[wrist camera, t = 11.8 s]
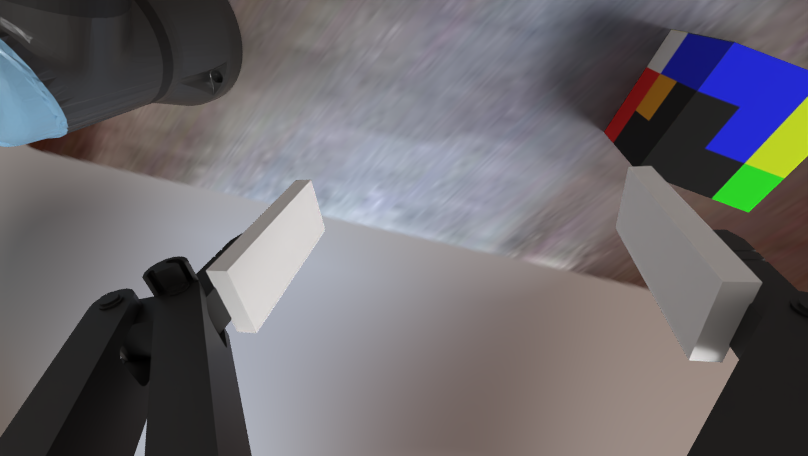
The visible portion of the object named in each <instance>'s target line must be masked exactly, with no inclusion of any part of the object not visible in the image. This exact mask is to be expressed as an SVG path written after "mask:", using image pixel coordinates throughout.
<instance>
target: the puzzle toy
mask: <svg viewBox="0 0 808 456" xmlns="http://www.w3.org/2000/svg"><path fill="white" fill-rule="evenodd" d="M604 133H605V134H606V135H607V136H608V137H609V139H610V140H611V141H612V142H613V143H614V145H615V146H616V147H617V148H618V149H619V150H620V152H621V153H622V154H623V155H624V156H625V158H626V159H627V160H628V161H629V162H630V163H631V165H632V166H633V167H638V166H652V167H653V168H654V169H655V170H656V172H657V173H658V174H659V175H660V176H661V177H662V178H663V179H664V180H665V181H666V182H668V183H671V184H674V185H676V186H679V187H682V188H684V189H687V190H690V191H692V192H695V193H698V194H701V195H703V196H706V197H709V198H711V199H714V200H717V201H719V202H722V203H725V204H727V205H730V206H733V207H735V208H738V209H741V210H743V211H746V212H750V211H751V210H752V209H753V208H754V207H755V206H756V205H757V204H758V203H759V202H760V201H761V200H762V199H763V198H764V197H765V196H766V195H767V194H768V193H769V192H770V191H772V190H773V189H774V188H775V187H776V186H777V185H778V184H779V183H780V182H781V181H782V180H783V179H784V178H785V177H786V176H787V175H788V174H789V173H790V172H791V171H792V170H793V169H794V168H795V167H796V166H798V165H799V164H800V163H801V162H802V161H803V160H804V159H805V158H806V157H807V156H808V70H806V69H804V68H801V67H798V66H796V65H793V64H790V63H788V62H785V61H783V60H780V59H777V58H775V57H772V56H769V55H767V54H764V53H762V52H759V51H756V50H754V49H751V48H748V47H746V46H743V45H741V44H738V43H735V42H731V41H726V40H722V39H717V38H712V37H707V36H702V35H697V34H692V33H687V32H682V31H677V30H673V29H671V31H670V32H669V34H668V35H667V37H666V38H665V40H664V41H663V43H662V44H661V46H660V48H659V49H658V51H657V52H656V54H655V55H654V57H653V58H652V60H651V61H650V63H649V64H648V66H647V67H646V69H645V70H644V72H643V74H642V75H641V77H640V78H639V80H638V81H637V83H636V84H635V86H634V87H633V89H632V90H631V92H630V93H629V95H628V96H627V98H626V99H625V101H624V103H623V104H622V106H621V107H620V109H619V110H618V112H617V113H616V115H615V116H614V118H613V119H612V121H611V122H610V124H609V125H608V127H607V128H606V130H605V132H604Z"/></svg>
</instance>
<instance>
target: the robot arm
mask: <svg viewBox="0 0 808 456" xmlns="http://www.w3.org/2000/svg"><path fill="white" fill-rule="evenodd" d="M241 64H242V41H241V35H240V30H239V26H238V23H237V20H236V17H235V15H234V12H233V10H232V8H231V6H230V4H229V2H228V0H0V146H5V147H10V146H19V145H24V144H27V143H31V142H35V141H38V140H42V139H46V138H59V137H62V136H64V135H66V134H67V133H70V132H73V131H76V130H78V129H81V128H84V127H87V126H89V125H92V124H95V123H98V122H101V121H103V120H106V119H109V118H112V117H114V116H117V115H120V114H123V113H126V112H128V111H131V110H134V109H137V108H139V107H142V106H145V105H148V104H151V103H160V104H172V105H184V106H194V105H201V104H204V103H207V102H210V101H212V100H215V99H217V98H219V97H221V96H223V95H224V94H226V93H227V92H228V91H229V90H230V89H231V88H232V86H233V85H234V84H235V82H236V80H237V78H238V75H239V72H240V69H241ZM616 230H617V232H618V233H619V235H620V237H621V239H622V241H623V242H624V244H625V246H626V248H627V250H628V251H629V253H630V255H631V257H632V259H633V260H634V262H635V264H636V266H637V268H638V269H639V271H640V273H641V275H642V277H643V278H644V280H645V282H646V284H647V286H648V287H649V289H650V291H651V293H652V295H653V297H654V298H655V300H656V302H657V304H658V306H659V307H660V309H661V311H662V313H663V315H664V316H665V318H666V320H667V322H668V323H669V325H670V327H671V329H672V331H673V333H674V334H675V336H676V338H677V340H678V342H679V343H680V345H681V347H682V348H683V351H684V352H685V354H686V356H687V358H688V360H693V361H709V362H722V361H723V359H724V358H725V356H726V354H727V351H728V350H729V348H730V347H731V348H732V350H733V351H734V353H735V354H736V356H737V357H738V358H739V361H738V363H737V365H736V367H735V369H734V370H733V372H732V374H731V376H730V378H729V379H728V381H727V383H726V385H725V387H724V389H723V391H722V392H721V394H720V396H719V398H718V400H717V401H716V403H715V405H714V407H713V409H712V411H711V413H710V414H709V416H708V418H707V420H706V422H705V424H704V425H703V427H702V429H701V431H700V433H699V435H698V436H697V438H696V440H695V442H694V444H693V446H692V447H691V449H690V451H689V453H688V455H687V456H808V293H807V292H803V291H798V290H797V289H796V288H795V287H794V286H793V285H792V284H791V283H789V282H788V281H787V280H786V279H785V278H784V277H783V276H782V275H781V274H780V273H779V272H778V271H777V270H776V269H775V268H774V267H773V266H772V265H771V264H770V263H769V262H765V259H764V258H763V257H762V256H761V255H760V254H759V253H758V252H756V250H755V249H754V248H753V247H752V246H751V245H750V244H749V243H748V242H747V241H745V240H744V239H743V238H741V237H739V236H737V235H735V234H733V233H731V232H730V231H728V230H712V229H711V228H710V227H709V226H708V225H707V224H706V223H705V222H704V221H703V220H702V219H701V218H700V217H699V215H698V214H697V213H696V212H695V211H694V210H693V209H692V208H691V207H690V206H689V205H688V204H687V203H686V202H685V201H684V200H683V199H682V198H681V197H680V196H679V195H678V193H677V192H676V191H675V190H674V189H673V188H672V187H671V186H670V185H669V184H668V183H667V182H666V181H665V180H664V179H663V178H662V177H661V176H660V175H659V174H658V173H657V172H656V170H655V169H654V168H653V167H652V166H638V167H628V172H627V176H626V181H625V186H624V191H623V195H622V200H621V205H620V210H619V214H618V219H617V224H616ZM324 231H325V227H324V224H323V220H322V217H321V213H320V209H319V206H318V202H317V199H316V195H315V192H314V188H313V185H312V181H311V180H296V181H295V182H294V183H293V184H292V185H291V186H290V187H289V188H288V189H287V190H286V191H285V192H284V193H283V194H282V195H281V196H280V197H279V198H278V199H277V200H276V201H275V202H274V203H273V204H272V205H271V206H270V207H269V208H268V209H267V210H266V211H265V212H264V213H263V214H262V215H261V216H260V217H259V218H258V219H257V220H256V221H255V222H254V223H253V224H252V225H251V226H250V227H249V228H248V229H247V230H246V231H245V232H244V233H242V234H240V235H239V236H237V237H235V238H234V239H232V240H231V241H229V243H227V244H226V245H225V246H224V247H223V249H222V250H220V251H219V252H218V253H217V254H216V255H215V257H213V258H212V259H211V260H210V261H209V262H208V263H207V264H206V265H205V266H204V267H203V268H202V269H201V270H200V271H199V272H198V273H197V274H195V272H194V271H193V269H192V267H191V265H190V264H189V261H188V260H187V258H185V257H172V258H169V259H165V260H163V261H161V262H159V263H157V264H155V265H153V266H152V267H150V268H149V269H148V270H147V271H146V272H145V273H144V275H143V279H144V281H145V282H146V284H147V285H148V287H149V288H150V290H151V291H152V293H153V295H154V297H149V298H143V299H138V297H137V295H136V294H135V292H134V291H133V290H132V289H121V290H117V291H114V292H110V293H108V294H107V295H106V294H105V295H104V296H102V297H101V298H100V299H98V300H97V301H96V302H94V303H93V304H92V305H91V306H90V307H89V309H88V310H87V312H86V313H85V314H84V316H83V317H82V319H81V320H80V322H79V323H78V325H77V326H76V328H75V329H74V331H73V332H72V333H71V335H70V336H69V338H68V339H67V341H66V342H65V344H64V345H63V347H62V348H61V350H60V351H59V353H58V354H57V355H56V357H55V358H54V360H53V361H52V363H51V364H50V366H49V367H48V369H47V370H46V371H45V373H44V375H43V376H42V377H41V379H40V380H39V382H38V383H37V385H36V386H35V388H34V389H33V390H32V392H31V393H30V395H29V396H28V398H27V399H26V401H25V402H24V404H23V405H22V407H21V408H20V410H19V411H18V413H17V414H16V415H15V417H14V418H13V420H12V421H11V423H10V424H9V426H8V427H7V429H6V430H5V432H4V433H3V434H2V436H1V437H0V456H134V454H135V451H136V448H137V445H138V442H139V440H140V437H141V434H142V431H143V428H144V425H145V422H146V419H147V429H146V444H145V445H146V446H145V456H252V455H251V450H250V445H249V440H248V434H247V429H246V424H245V419H244V414H243V408H242V403H241V398H240V393H239V387H238V382H237V377H236V372H235V366H234V361H233V355H232V350H231V345H230V339H229V335H228V333H227V331H226V329H225V327H226V326H227V324H228V323H229V322H230V321H231V320H232V322H233V324H234V326H235V328H236V330H237V331H238V332H248V333H257V332H258V330H259V329H260V327H261V326H262V324H263V323H264V321H265V320H266V318H267V317H268V315H269V314H270V312H271V311H272V309H273V308H274V306H275V305H276V303H277V302H278V300H279V299H280V297H281V296H282V294H283V293H284V291H285V290H286V288H287V287H288V285H289V284H290V282H291V281H292V279H293V278H294V276H295V275H296V273H297V272H298V270H299V269H300V267H301V266H302V264H303V263H304V261H305V260H306V258H307V257H308V255H309V254H310V252H311V251H312V249H313V248H314V246H315V245H316V243H317V242H318V240H319V239H320V237H321V236H322V234H323V233H324ZM120 356H121V357H122V358H120Z"/></svg>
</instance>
